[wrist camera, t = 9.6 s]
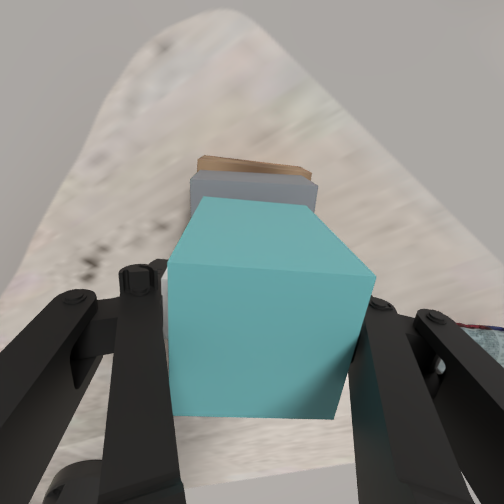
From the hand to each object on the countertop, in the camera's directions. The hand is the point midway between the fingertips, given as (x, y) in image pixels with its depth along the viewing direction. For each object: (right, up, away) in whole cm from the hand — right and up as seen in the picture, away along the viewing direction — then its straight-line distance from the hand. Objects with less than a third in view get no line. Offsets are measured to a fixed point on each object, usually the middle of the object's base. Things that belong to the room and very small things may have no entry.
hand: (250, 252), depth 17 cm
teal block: (0, 0, 0) cm, 0 cm away
